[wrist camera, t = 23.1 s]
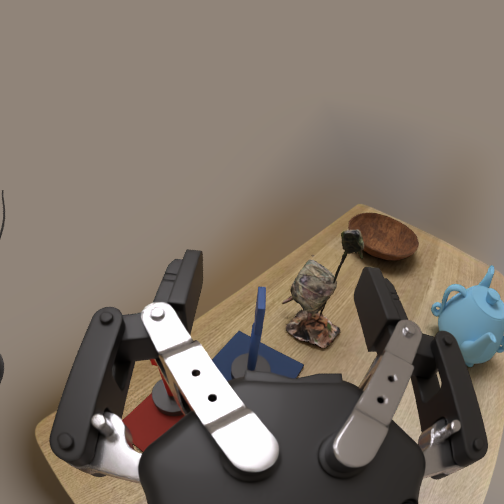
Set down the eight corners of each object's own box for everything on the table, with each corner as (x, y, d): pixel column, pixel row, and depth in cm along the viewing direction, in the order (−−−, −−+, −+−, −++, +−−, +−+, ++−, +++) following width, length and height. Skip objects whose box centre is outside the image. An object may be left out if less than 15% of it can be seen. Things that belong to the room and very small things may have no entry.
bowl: (330, 246, 70) (334, 229, 67) (363, 220, 84) (367, 206, 81) (399, 284, 60) (406, 267, 57) (419, 248, 74) (425, 234, 71)
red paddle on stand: (150, 412, 32) (116, 344, 23) (158, 378, 37) (134, 302, 28) (190, 419, 32) (173, 355, 23) (196, 385, 37) (186, 309, 28)
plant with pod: (301, 298, 54) (324, 203, 43) (345, 335, 47) (386, 239, 36) (269, 316, 50) (286, 215, 38) (314, 359, 43) (353, 258, 31)
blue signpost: (229, 388, 37) (232, 314, 28) (232, 357, 42) (237, 277, 32) (269, 391, 37) (289, 319, 28) (269, 360, 42) (287, 282, 32)
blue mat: (192, 382, 38) (191, 380, 37) (238, 332, 46) (238, 330, 46) (263, 426, 33) (263, 425, 33) (303, 366, 42) (304, 364, 41)
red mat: (116, 427, 30) (115, 426, 29) (172, 375, 38) (171, 373, 38) (185, 484, 25) (184, 484, 25) (240, 420, 33) (240, 419, 33)
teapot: (465, 310, 53) (493, 263, 45) (499, 375, 37) (539, 329, 29) (416, 313, 52) (445, 259, 44) (449, 390, 36) (496, 339, 28)
